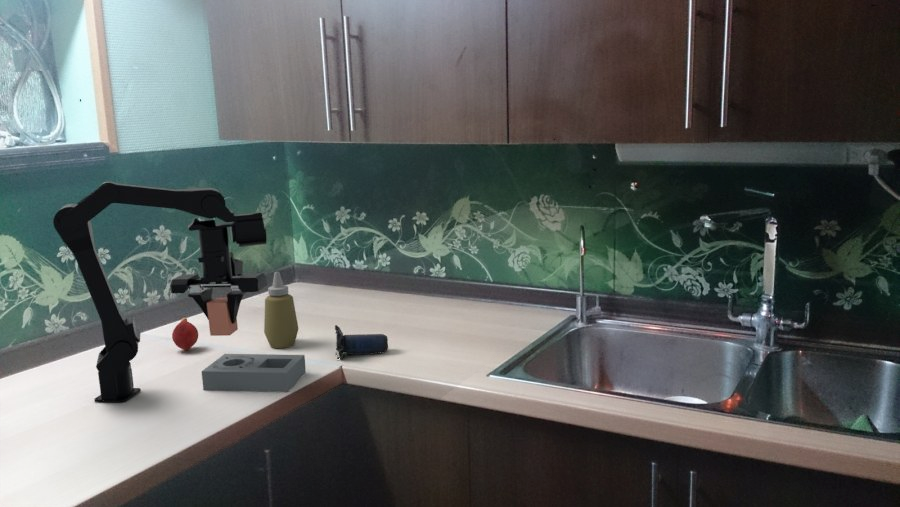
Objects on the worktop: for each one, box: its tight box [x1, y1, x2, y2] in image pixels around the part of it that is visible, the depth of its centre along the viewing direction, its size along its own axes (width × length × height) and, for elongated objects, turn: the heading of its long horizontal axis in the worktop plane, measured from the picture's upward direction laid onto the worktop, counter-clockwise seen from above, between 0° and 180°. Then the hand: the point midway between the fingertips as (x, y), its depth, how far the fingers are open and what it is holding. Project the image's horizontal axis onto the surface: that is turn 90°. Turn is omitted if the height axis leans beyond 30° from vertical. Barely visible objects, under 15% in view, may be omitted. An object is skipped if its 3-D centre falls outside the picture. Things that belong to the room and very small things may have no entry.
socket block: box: [201, 353, 307, 393], centre depth 157 cm, size 11×18×4 cm, turn 82°
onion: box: [171, 317, 199, 351], centre depth 179 cm, size 6×6×8 cm
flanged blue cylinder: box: [334, 324, 389, 361], centre depth 173 cm, size 9×8×12 cm
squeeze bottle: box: [263, 271, 299, 349], centre depth 179 cm, size 8×8×18 cm
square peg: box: [207, 296, 239, 337], centre depth 156 cm, size 4×4×7 cm
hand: (223, 323), depth 156 cm, fingers closed on square peg, 4 cm apart
